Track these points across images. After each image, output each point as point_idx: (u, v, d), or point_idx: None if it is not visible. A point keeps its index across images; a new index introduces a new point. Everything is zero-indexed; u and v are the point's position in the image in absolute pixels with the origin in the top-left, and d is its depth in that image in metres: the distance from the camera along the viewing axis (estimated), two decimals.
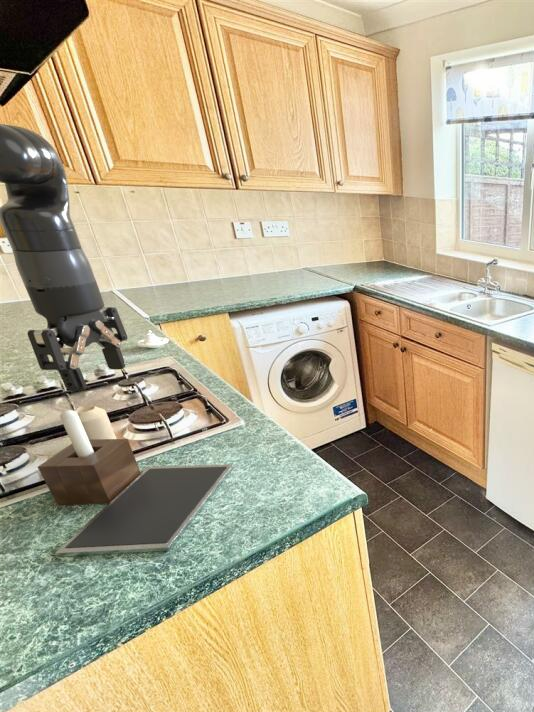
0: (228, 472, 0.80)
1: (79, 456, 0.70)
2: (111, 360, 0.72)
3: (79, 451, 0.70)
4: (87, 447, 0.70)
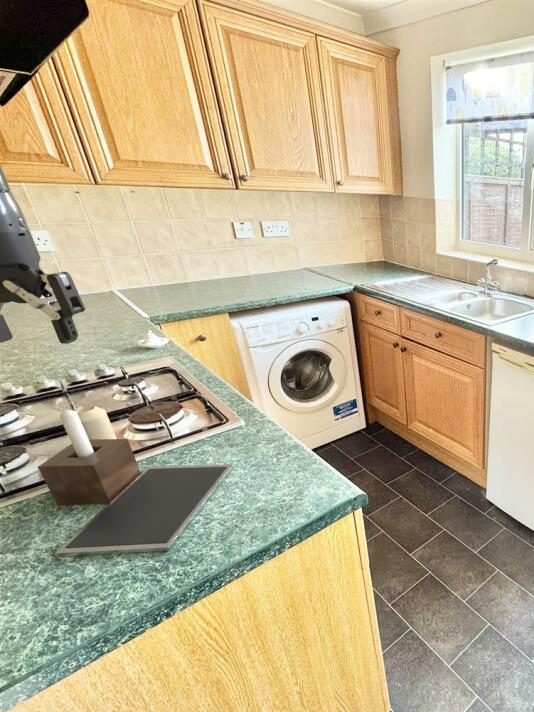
0: (228, 472, 0.80)
1: (79, 456, 0.70)
2: (0, 330, 0.61)
3: (79, 452, 0.70)
4: (86, 447, 0.70)
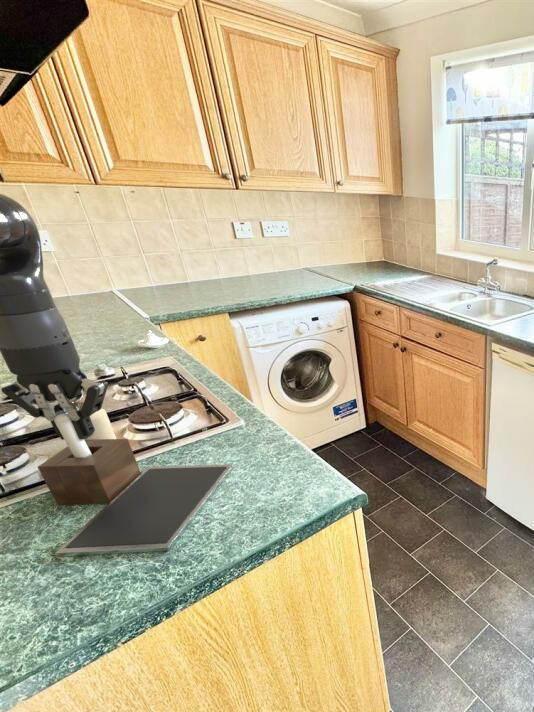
0: (228, 472, 0.80)
1: None
2: None
3: (77, 454, 0.69)
4: (83, 450, 0.70)
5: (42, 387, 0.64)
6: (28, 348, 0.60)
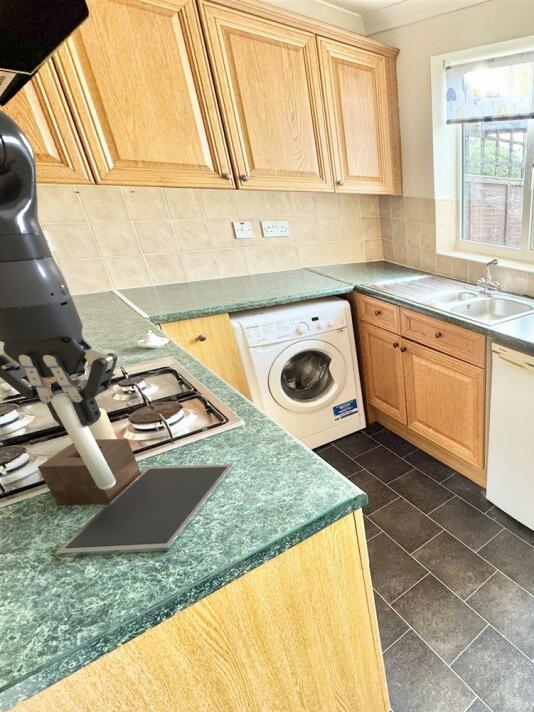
0: (228, 472, 0.80)
1: (79, 450, 0.57)
2: None
3: (79, 444, 0.56)
4: (87, 439, 0.57)
5: (35, 359, 0.51)
6: (17, 307, 0.47)
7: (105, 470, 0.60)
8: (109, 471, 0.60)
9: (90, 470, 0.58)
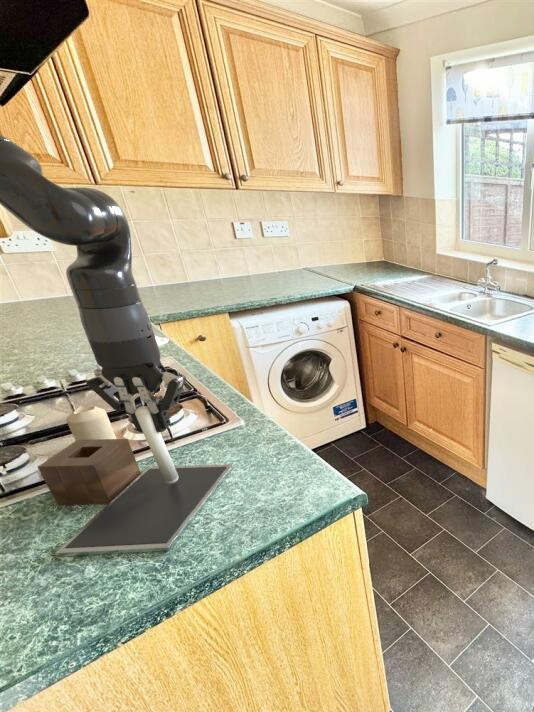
0: (228, 472, 0.80)
1: (153, 451, 0.71)
2: None
3: (153, 447, 0.70)
4: (160, 442, 0.71)
5: (125, 380, 0.65)
6: (118, 341, 0.61)
7: (171, 468, 0.74)
8: (174, 468, 0.74)
9: (160, 467, 0.73)
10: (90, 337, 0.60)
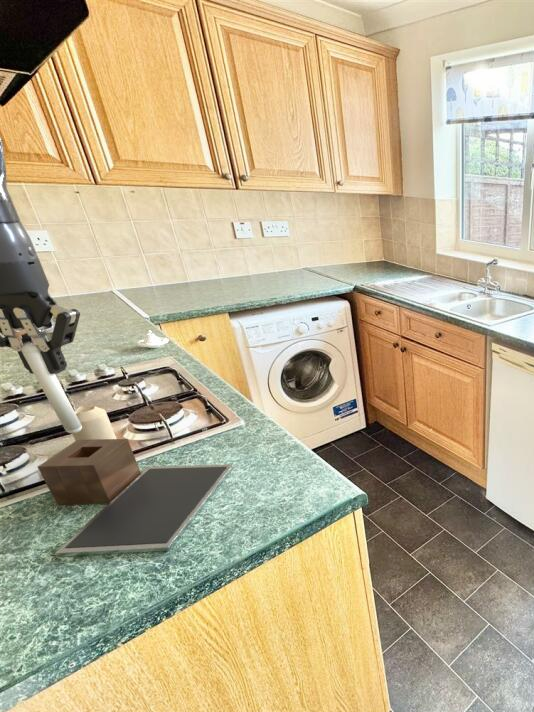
0: (228, 472, 0.80)
1: (47, 395, 0.65)
2: None
3: (47, 390, 0.64)
4: (54, 385, 0.65)
5: (7, 312, 0.59)
6: None
7: (72, 415, 0.68)
8: (75, 417, 0.68)
9: (58, 414, 0.67)
10: None
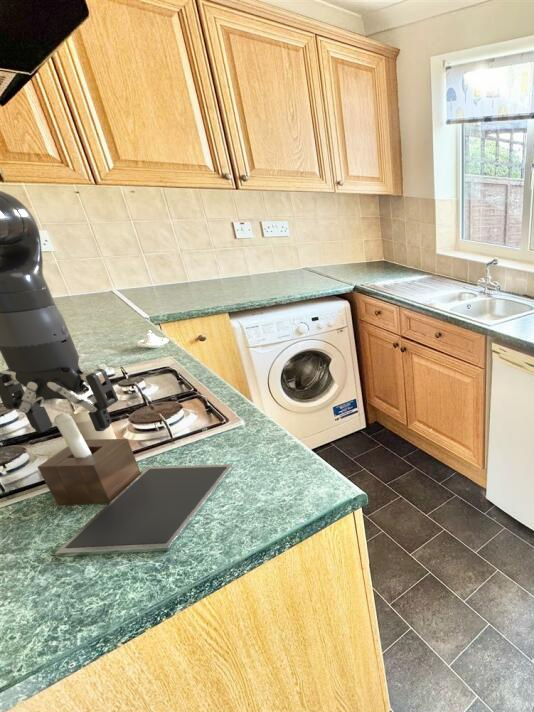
0: (228, 472, 0.80)
1: None
2: (42, 421, 0.68)
3: (77, 454, 0.69)
4: (83, 450, 0.70)
5: (41, 385, 0.64)
6: (27, 346, 0.60)
7: None
8: None
9: None
10: None
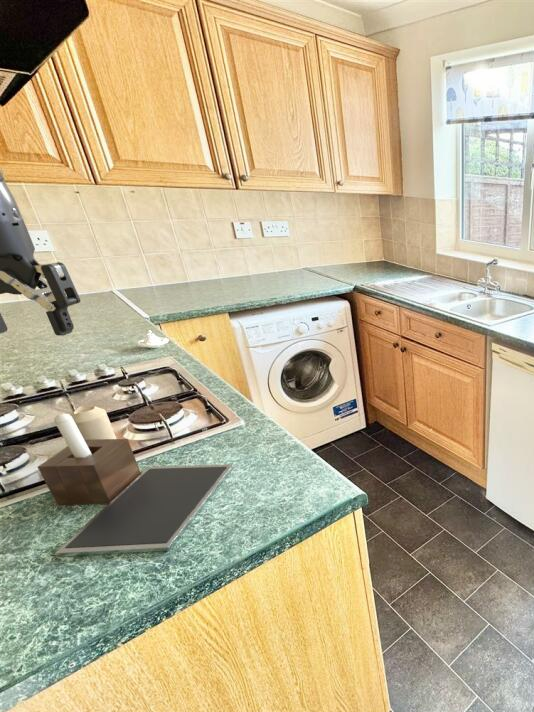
0: (228, 472, 0.80)
1: None
2: None
3: (77, 454, 0.69)
4: (83, 450, 0.70)
5: None
6: None
7: None
8: None
9: None
10: None
